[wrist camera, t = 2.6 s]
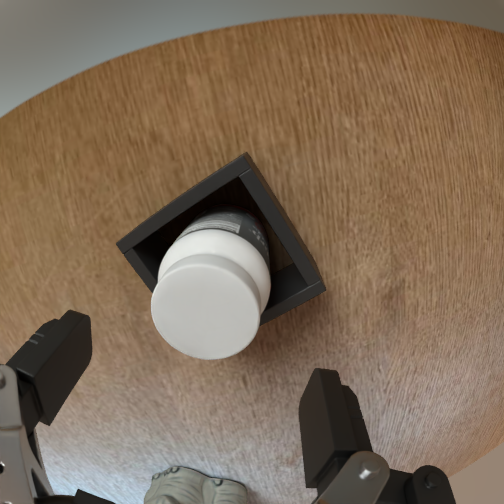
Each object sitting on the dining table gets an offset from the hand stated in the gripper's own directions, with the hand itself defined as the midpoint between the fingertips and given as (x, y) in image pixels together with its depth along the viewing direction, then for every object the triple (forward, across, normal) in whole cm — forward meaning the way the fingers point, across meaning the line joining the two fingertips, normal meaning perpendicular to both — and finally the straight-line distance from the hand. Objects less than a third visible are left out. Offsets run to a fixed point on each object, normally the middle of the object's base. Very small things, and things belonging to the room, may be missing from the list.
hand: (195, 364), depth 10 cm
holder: (+13, 0, 0) cm, 13 cm away
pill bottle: (+13, 0, 0) cm, 13 cm away
